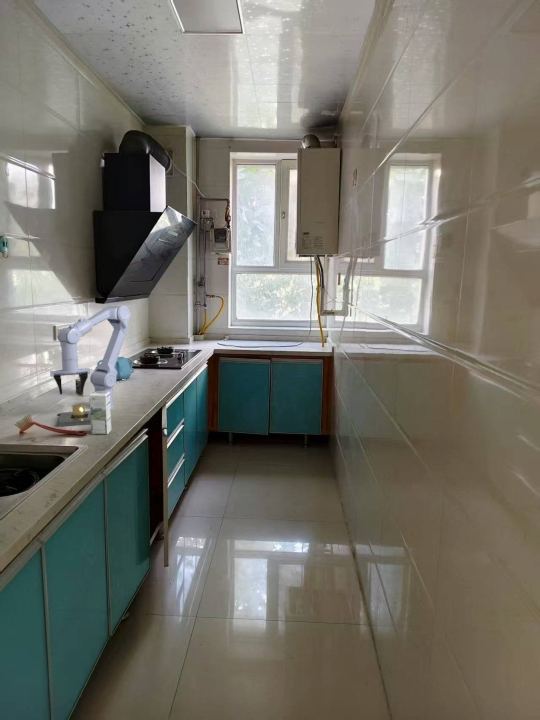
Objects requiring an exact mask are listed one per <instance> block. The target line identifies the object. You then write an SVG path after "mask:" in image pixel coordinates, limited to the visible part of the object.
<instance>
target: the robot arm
mask: <svg viewBox="0 0 540 720" xmlns="http://www.w3.org/2000/svg"><path fill="white" fill-rule="evenodd" d="M131 317H132V313H131V312H130V309H129V308H128V307H127V306H126V305H112V304H108V305H106V306H104V307H102V308H101V310H99V311H98V312H96V313H95V314H94V315H92V316H91V317H89V318H79V319H78V320H77V322H75V323H73V324H69V325H68V328H67V327H63V328H61V329H60V330H59V332H58V335H57V336H56V337H57V340H58V342H59V343H60V346H61V347H60V349H61V351H60V352H61V365H62V367H61V369H57V370H50V371H49V373H50V377H51V378H53V379H54V381H55V382H56V383H55V384H56V385H57V388H58V391H59V395H63V389H62V376H63V377H64V376H75V375H78V376H79V374H80V378H79V379H80V391H81V393H83V389H84V385H85V382H86V380H87V377H88V375H87V374H90V369H91V368H79V360H78V357H79V356H78V343H79V342H80V339H81V338H82V337H84V336H85V335H87V334H89V333H90V332H92V330H93V327H95V326H97V325H98V324H100V323H102V322H105V321H106V320H107V321H108V322H109V324H110V325H111V326H112V328H113V331H112V334H111V336H110V339H109V342H108V344H107V347H106V349H105V353H104V355H103V358H102V359H101V360H102V362H100V364H99V365H98V366H96V367H95V369H94V371H92V374H91V377H90V381H91V383H92V384H93V385H94V387H95V392H110V411H111V410H115V402H114V392H113V391H114V387H115V385H116V383H117V380H116V375H117V371H116V369H115V368H114V367H115V364H116V361H117V359H118V357H120V356H119V355H120V352H121V350H122V347H123V344H124V341H125V339H126V337H127V334H128V331H129V321H130V318H131Z"/></svg>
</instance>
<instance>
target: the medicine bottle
mask: <svg viewBox="0 0 540 720" xmlns="http://www.w3.org/2000/svg"><path fill="white" fill-rule="evenodd" d="M89 369H90V374H87V375H88V377H87V380H86V382H85V385H84V389H83V393H81V391H80V374H78V378H75V380H74V381H75V394H76V395H78V396H82V397H89V396H90V394H91V393H93V392H95V387H94V385H93V384H92V383H91V381H90V377H91V374H92V373H93V369H92V368H89ZM88 395H89V396H88Z"/></svg>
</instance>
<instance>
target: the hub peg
mask: <svg viewBox="0 0 540 720" xmlns="http://www.w3.org/2000/svg"><path fill="white" fill-rule="evenodd" d="M71 407H72V412H73V419H74V418H85V411H86V405H85V404H73V405H72V406H71Z"/></svg>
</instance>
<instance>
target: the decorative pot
mask: <svg viewBox="0 0 540 720" xmlns="http://www.w3.org/2000/svg"><path fill="white" fill-rule="evenodd" d="M102 360H103V359H100V360H98V362H97V364H96V365H97V366H98V365H100V364H101V363H102ZM128 360H129V361H130V363H129V361H128ZM133 365H134V360H133V359H132V358H130V357H124V356H118V359H117V361H116V364H115V367H114V368H115V369H116V371H117V375H116V381H117V380H121V379H126V380H127V379H129V378H130V377H131V375H132V374H133V373H134V372H135V369H134V368H133ZM97 366H96V367H97Z"/></svg>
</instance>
